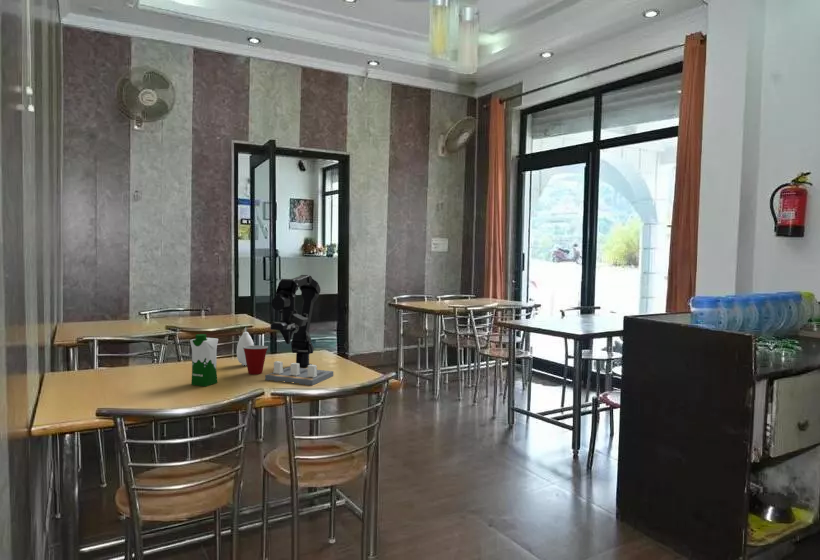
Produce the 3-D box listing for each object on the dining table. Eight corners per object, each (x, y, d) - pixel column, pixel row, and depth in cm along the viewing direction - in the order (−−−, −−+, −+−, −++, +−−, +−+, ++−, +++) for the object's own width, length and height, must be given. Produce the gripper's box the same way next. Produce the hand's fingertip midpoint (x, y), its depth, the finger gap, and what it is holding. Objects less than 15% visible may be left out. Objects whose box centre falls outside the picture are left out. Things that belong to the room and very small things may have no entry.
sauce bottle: (233, 366, 257) (233, 327, 256) (244, 363, 264) (244, 324, 263) (247, 367, 254) (247, 328, 253) (258, 364, 261) (258, 326, 260)
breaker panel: (288, 371, 249) (288, 366, 249) (333, 375, 242) (333, 371, 242) (265, 380, 232) (265, 375, 232) (312, 385, 225) (312, 380, 225)
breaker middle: (293, 373, 235) (293, 362, 235) (300, 374, 234) (300, 363, 234) (289, 374, 232) (290, 363, 232) (296, 375, 231) (296, 364, 231)
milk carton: (187, 385, 221) (187, 334, 220) (203, 380, 230) (203, 331, 229) (206, 387, 218) (206, 336, 217) (221, 382, 227) (221, 333, 226)
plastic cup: (271, 370, 249) (272, 344, 248) (263, 376, 238) (263, 348, 238) (248, 369, 250) (248, 343, 249) (238, 375, 239) (238, 347, 239)
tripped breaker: (277, 371, 238) (277, 360, 237) (283, 372, 237) (283, 361, 236) (273, 373, 235) (273, 362, 234) (279, 373, 234) (279, 362, 233)
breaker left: (310, 375, 232) (310, 364, 232) (317, 376, 231) (317, 364, 231) (307, 376, 229) (307, 365, 229) (313, 377, 228) (313, 366, 228)
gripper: (293, 311, 231) (292, 348, 232) (315, 306, 249) (315, 341, 250) (269, 309, 235) (269, 346, 236) (293, 305, 253) (293, 340, 254)
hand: (288, 343), depth 244 cm, fingers closed
